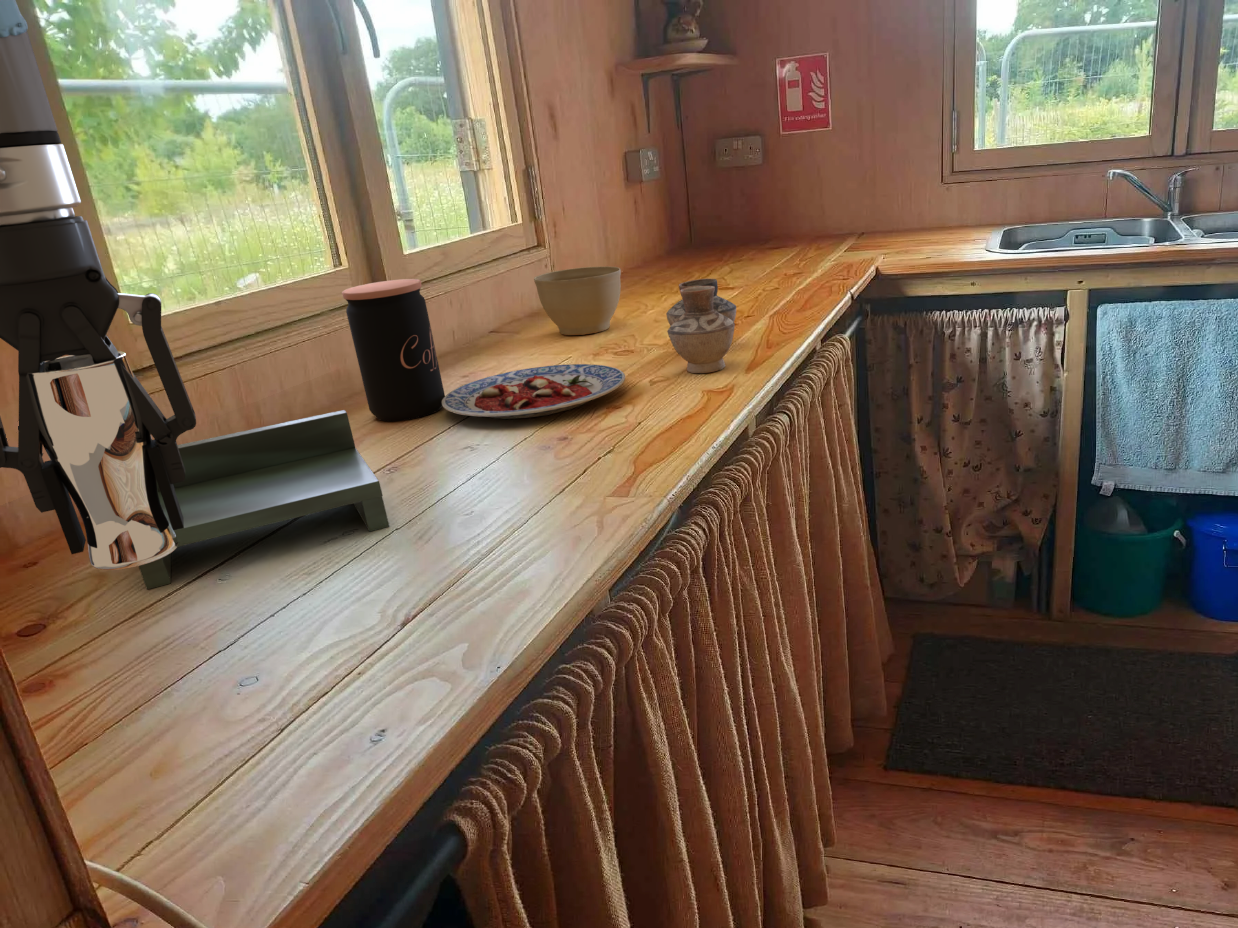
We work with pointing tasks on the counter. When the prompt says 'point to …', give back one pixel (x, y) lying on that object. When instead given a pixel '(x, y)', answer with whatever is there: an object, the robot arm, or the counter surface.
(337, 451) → the shelf
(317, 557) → the counter surface
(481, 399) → the ceramic plate
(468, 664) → the counter surface
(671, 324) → the pottery
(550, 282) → the planter bowl
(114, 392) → the beer glass
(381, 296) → the coffee jar
